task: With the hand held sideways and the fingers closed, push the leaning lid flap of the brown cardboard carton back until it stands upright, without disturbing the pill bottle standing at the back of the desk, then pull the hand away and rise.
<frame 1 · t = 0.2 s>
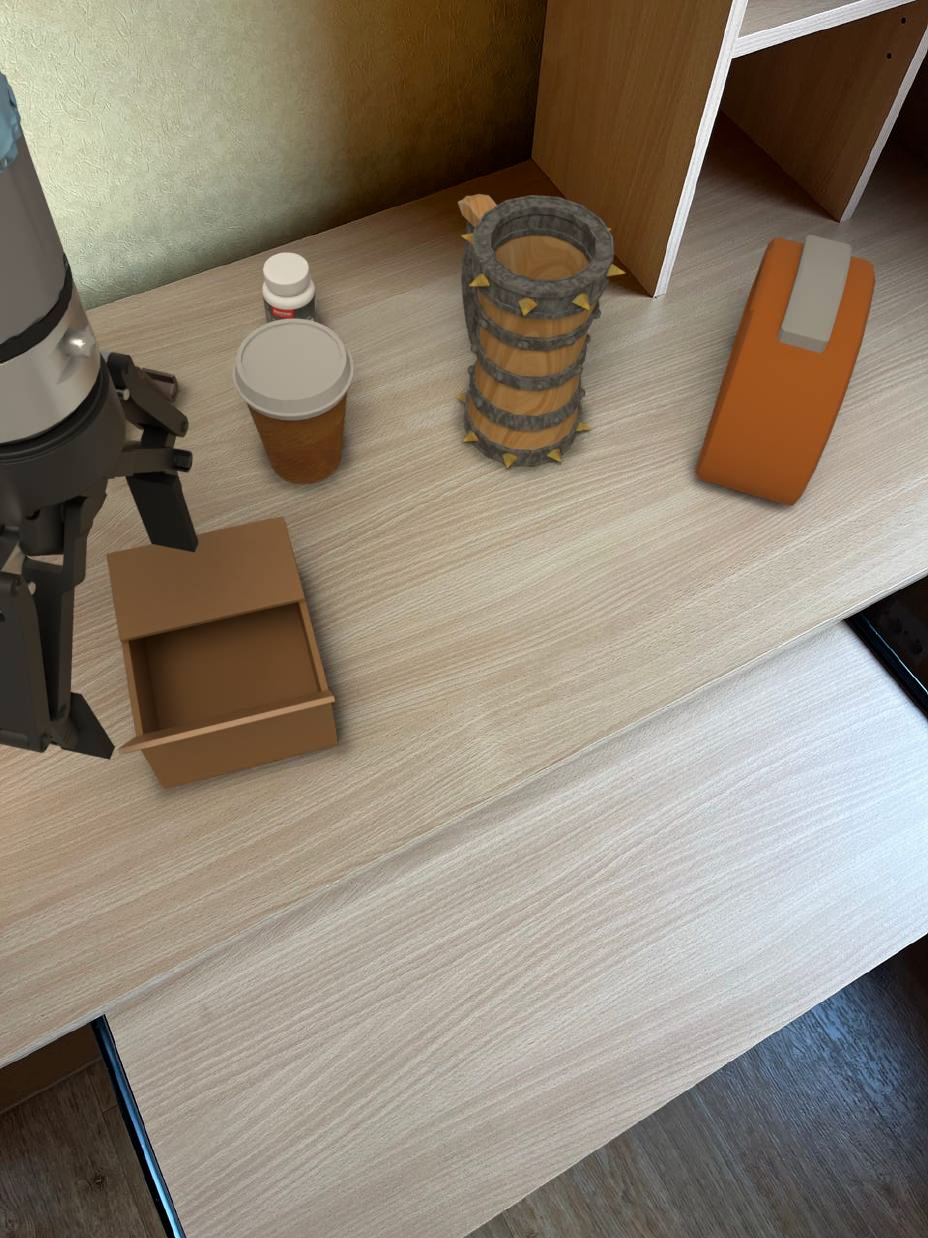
hand: (134, 640, 60), 20 cm above the table, tool pointing down, fingers open, 13 cm apart
mug: (508, 406, 97), on the table
carton: (233, 679, 82), on the table
flap: (231, 719, 67), point 12 cm above the table, hinge at 120.0°
tablet stand: (119, 413, 95), on the table
pill bottle: (295, 339, 100), on the table
disposable coffee cup: (306, 456, 93), on the table
alarm clock: (762, 416, 97), on the table
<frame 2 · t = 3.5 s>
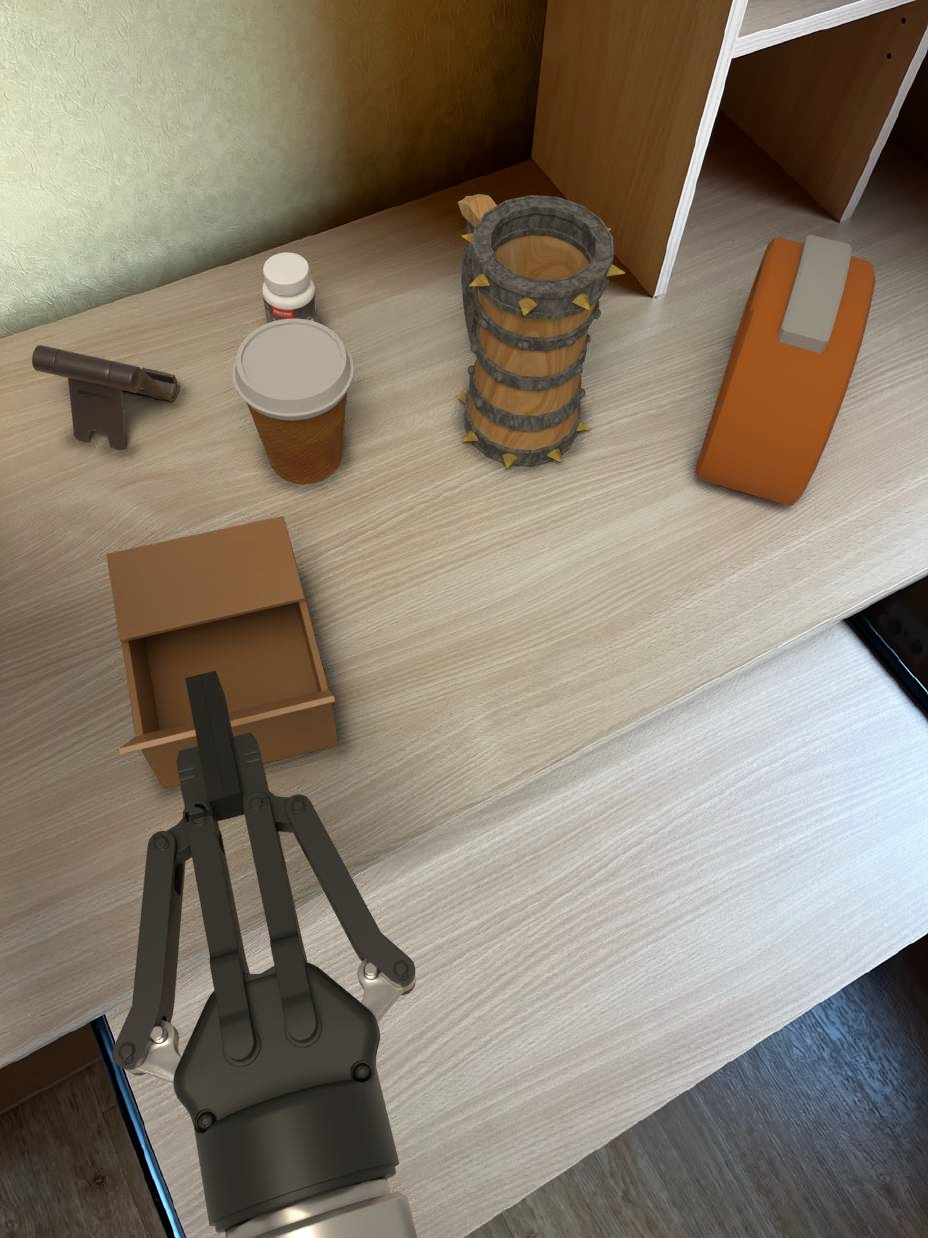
hand: (205, 687, 52), 26 cm above the table, tool horizontal, fingers closed
nothing on the table moved.
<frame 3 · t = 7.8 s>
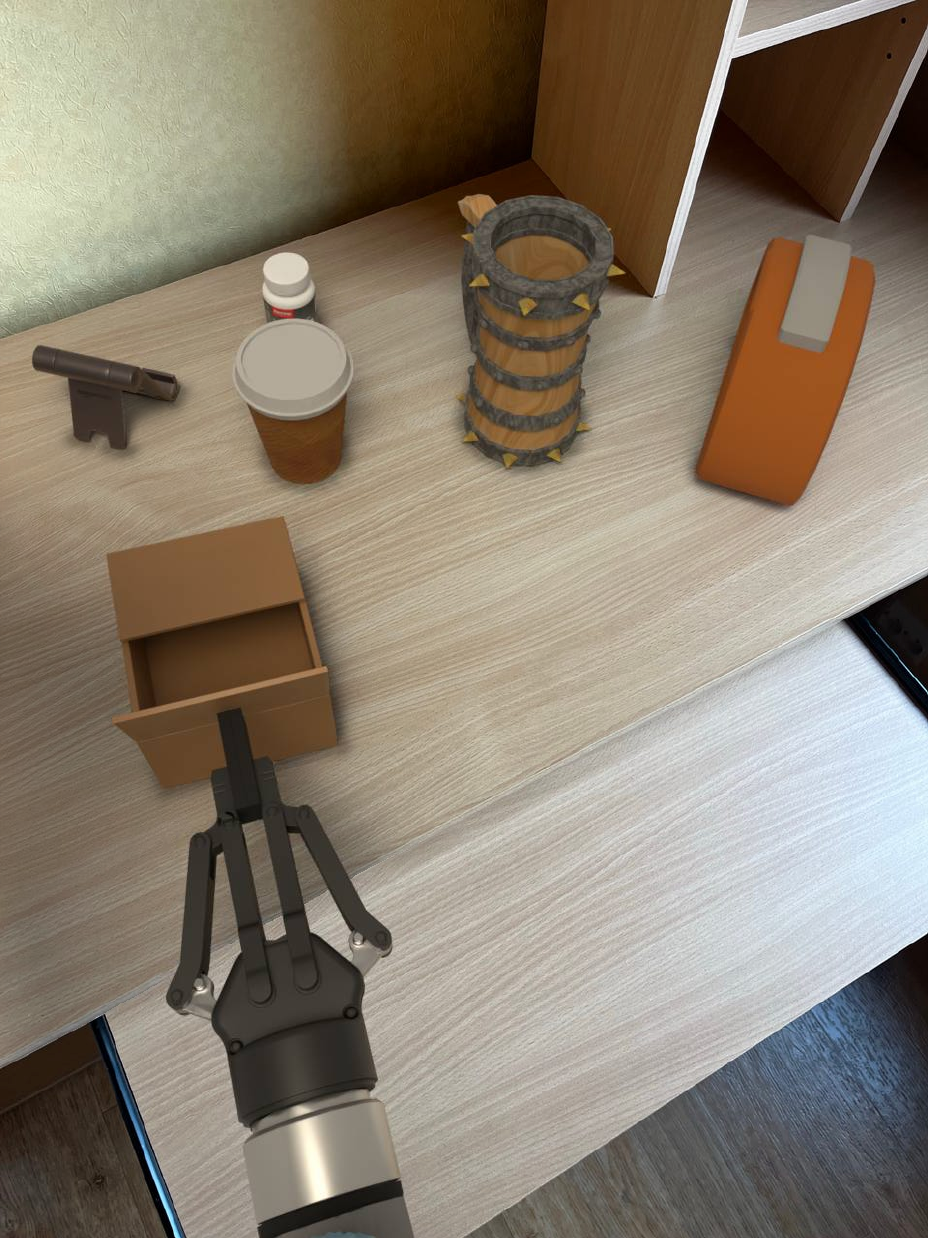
hand: (231, 719, 67), 12 cm above the table, tool horizontal, fingers closed
flap: (227, 705, 67), point 13 cm above the table, hinge at 105.5°, touching gripper
everything else where it was.
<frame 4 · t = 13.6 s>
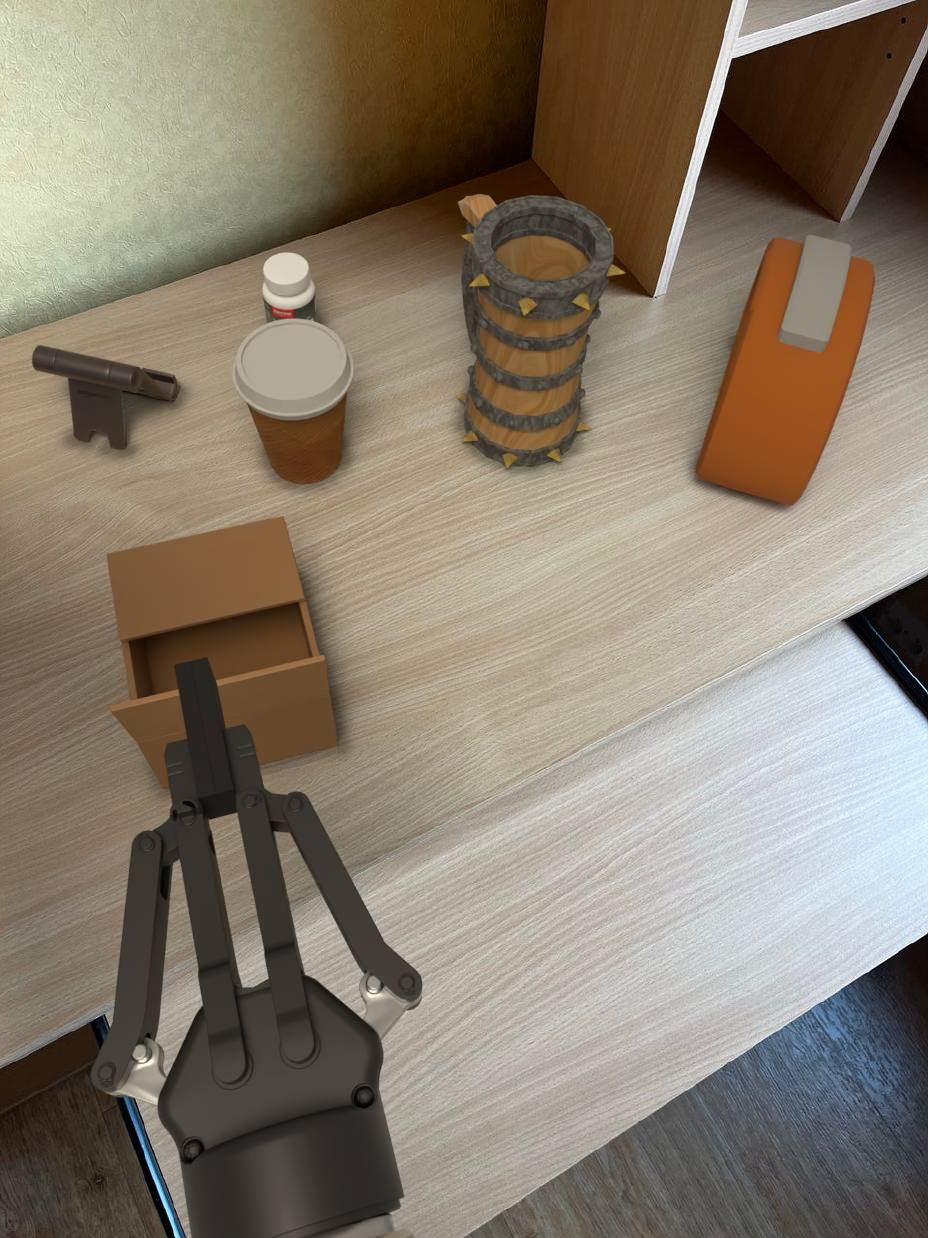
hand: (196, 675, 48), 30 cm above the table, tool horizontal, fingers closed
flap: (226, 699, 67), point 13 cm above the table, hinge at 99.8°
everything else where it was.
at the end: flap at +100° (first picture: +120°); pill bottle moved 0.2 cm from its start; pill bottle tilted 0° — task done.
